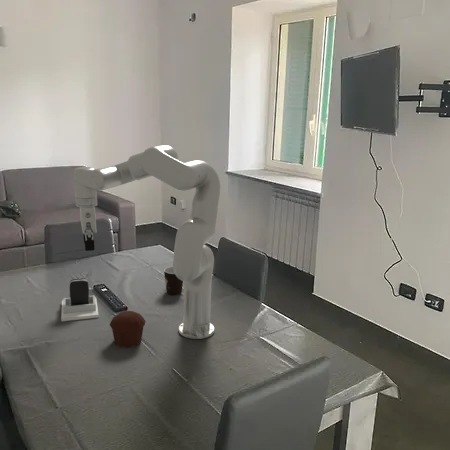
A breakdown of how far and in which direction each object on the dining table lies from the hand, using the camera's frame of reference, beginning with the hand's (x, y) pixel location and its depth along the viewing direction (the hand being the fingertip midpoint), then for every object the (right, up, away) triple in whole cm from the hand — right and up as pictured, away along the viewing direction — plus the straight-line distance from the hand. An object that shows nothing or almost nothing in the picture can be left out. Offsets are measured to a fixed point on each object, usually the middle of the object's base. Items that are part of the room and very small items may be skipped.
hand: (89, 246), depth 171 cm
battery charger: (-5, -24, +5) cm, 25 cm away
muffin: (+18, -31, -16) cm, 39 cm away
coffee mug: (+29, -20, +26) cm, 44 cm away
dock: (-7, -23, +10) cm, 26 cm away
